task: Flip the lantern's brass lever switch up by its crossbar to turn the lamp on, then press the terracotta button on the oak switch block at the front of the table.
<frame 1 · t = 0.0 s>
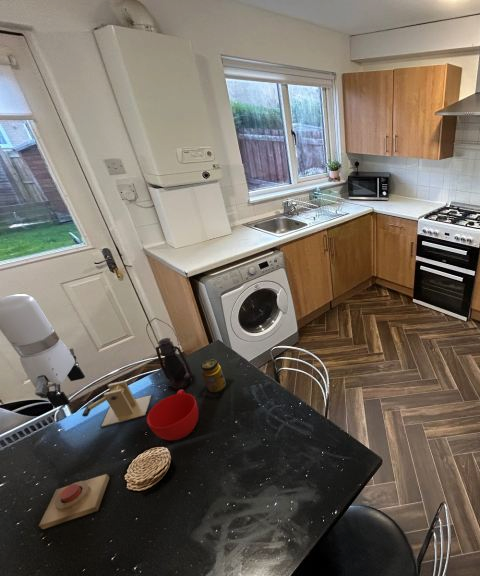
hand: (70, 391, 85), 23 cm above the table, tool pointing down, fingers open, 9 cm apart
condiment: (216, 389, 115), on the table
lantern: (182, 383, 118), on the table
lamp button: (70, 493, 79), point 4 cm above the table, slide at 0.1 cm
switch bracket: (128, 412, 106), on the table
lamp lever: (103, 399, 101), point 8 cm above the table, hinge at -25.0°
button block: (79, 502, 81), on the table
ceramic cup: (183, 426, 102), on the table
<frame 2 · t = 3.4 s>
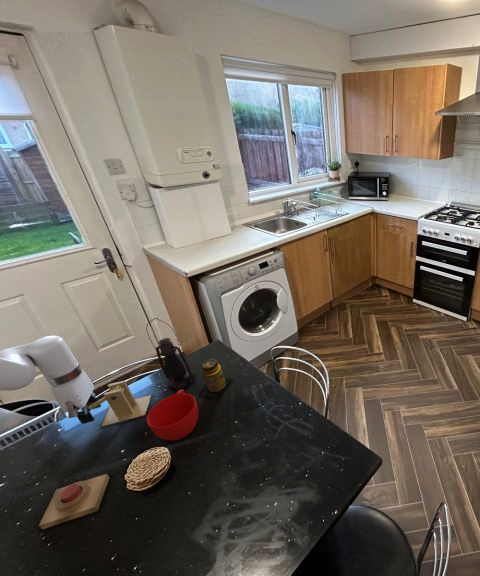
hand: (91, 414, 101), 3 cm above the table, tool pointing down, fingers closed on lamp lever, 5 cm apart
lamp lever: (103, 399, 101), point 8 cm above the table, hinge at -25.0°, touching gripper
everything else where it was.
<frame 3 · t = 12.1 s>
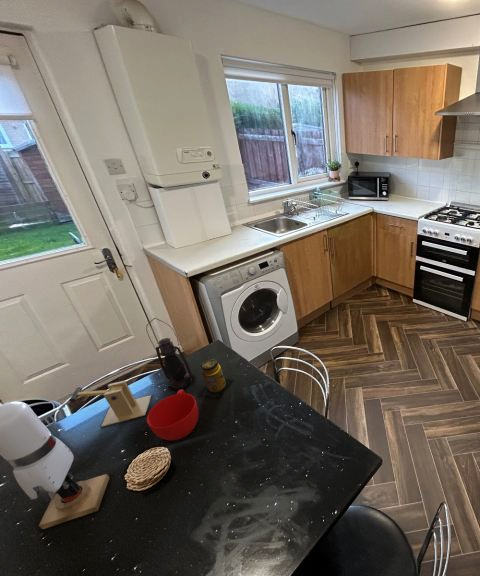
hand: (71, 493, 79), 4 cm above the table, tool pointing down, fingers closed
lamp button: (72, 495, 80), point 3 cm above the table, slide at -0.9 cm, touching gripper
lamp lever: (98, 392, 99), point 11 cm above the table, hinge at 15.1°
everything else where it was.
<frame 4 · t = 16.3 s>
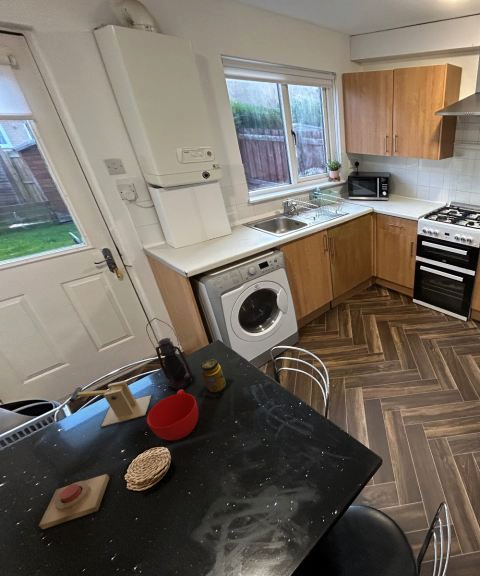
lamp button: (70, 493, 79), point 4 cm above the table, slide at 0.1 cm
everything else where it was.
at the end: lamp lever at +15° (first picture: -25°); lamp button pushed in 1.1 cm at the most during the clip, back to where it started at the end; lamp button slide at 0.1 cm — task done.
